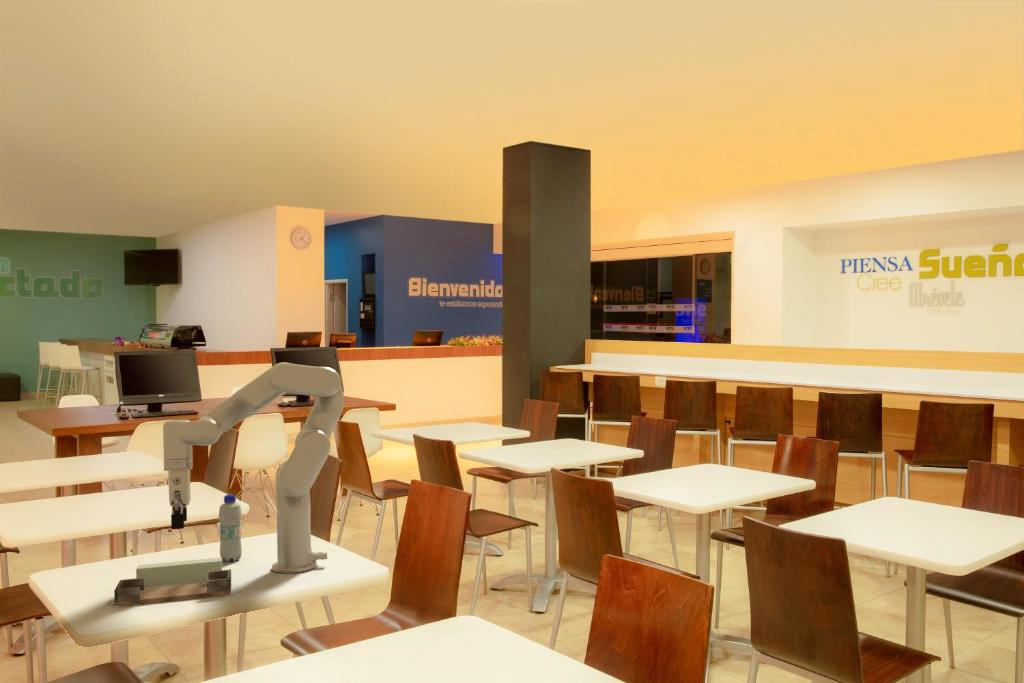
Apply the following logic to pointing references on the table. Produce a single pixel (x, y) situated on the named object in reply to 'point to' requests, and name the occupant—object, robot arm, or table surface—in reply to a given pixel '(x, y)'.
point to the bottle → (230, 529)
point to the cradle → (172, 590)
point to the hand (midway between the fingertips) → (179, 525)
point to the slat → (177, 571)
